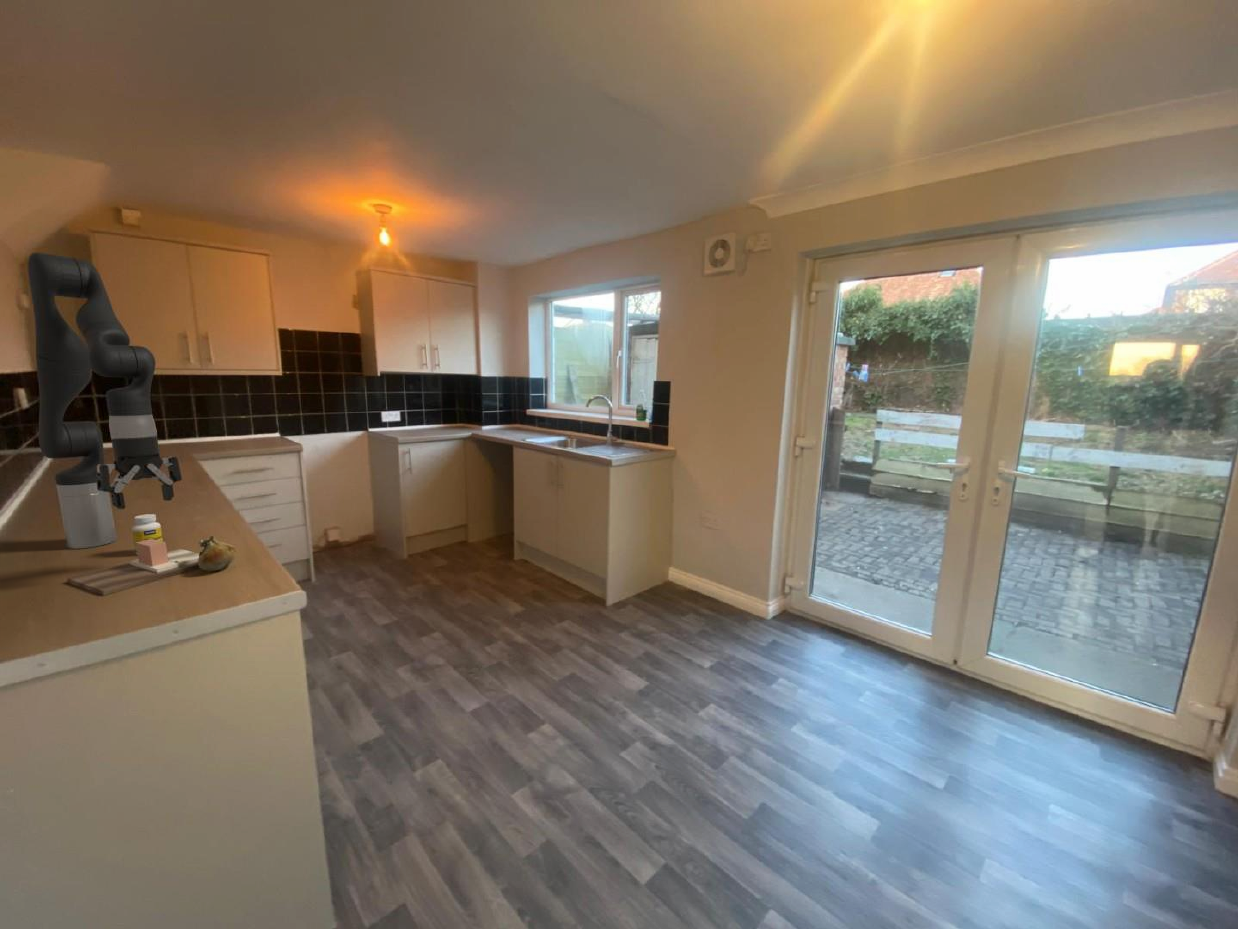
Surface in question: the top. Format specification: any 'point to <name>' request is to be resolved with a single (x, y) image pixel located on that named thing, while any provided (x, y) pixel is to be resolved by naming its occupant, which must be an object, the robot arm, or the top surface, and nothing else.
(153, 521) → the supplement bottle
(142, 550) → the pink and white block
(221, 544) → the onion
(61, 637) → the top surface
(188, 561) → the board
